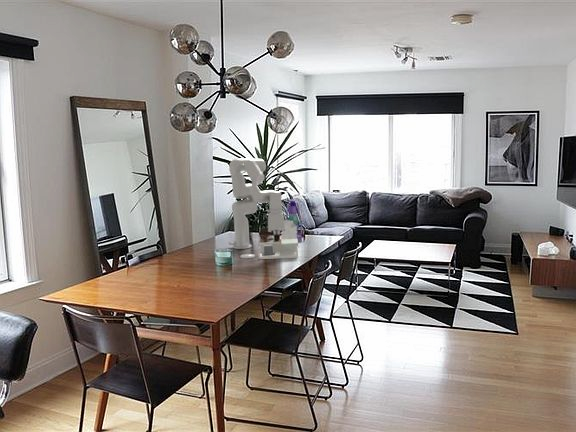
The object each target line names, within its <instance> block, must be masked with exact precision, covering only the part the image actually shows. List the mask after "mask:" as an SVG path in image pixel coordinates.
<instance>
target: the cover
mask: <svg viewBox="0 0 576 432" xmlns="http://www.w3.org/2000/svg"><path fill="white" fill-rule="evenodd" d="M279 242H280V246H294V245H297V246H299V242H298V239H282V235H279Z"/></svg>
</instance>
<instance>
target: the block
mask: <svg viewBox="0 0 576 432" xmlns="http://www.w3.org/2000/svg"><path fill="white" fill-rule="evenodd" d="M269 255H274V254H273V245H272V244H269V245H264V255H263V256H269Z"/></svg>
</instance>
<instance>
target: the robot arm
mask: <svg viewBox="0 0 576 432" xmlns="http://www.w3.org/2000/svg"><path fill="white" fill-rule="evenodd" d="M228 167H229V169H228V170H229V173H230V177H231V184H232V186H231V187H232V195H233V197H234V198H235V199H239V200H237V201H234V202H233V203H232V205H231V210H232V211H231V212H232V215H233V225H234V241H228V245H229V246H232V248H233V249H237V250H244V249H251V248H252V246H253V245H252V244H250V229H249V220H248V217H247V216H246V215H250V214H251V215H252V214H255V213H256V212H257V211H258V204H266V203H269V209H267V210H266V211H267V213H268V215H267V232H269V233H271V234H273V235H274V241H275V242H279V241H280V234H282V232H283V231H285V222H284V220H285V215H284V212H283V208H282V207H283V205H282V204H283V203H282V192H281V191H280V190H279V191H278V190H273V189H269V190H260V189H259V185H261V184H262V183H263V181H264V180H265V178H266V177H265V174H264V173H263V172H265V171H266V169H267V165H266V161H265V160H264V159H262V158H255V157H245V158H244V157H243V158H242V157H241V158H234V159H232V160H231V161H230V163H229V166H228ZM242 172H246V174H247V175H248V177H249V179H250V181H251V183H246V179H245V176H244V175H243V174H244V173H242ZM240 199H241V200H240ZM245 199H246V200H245ZM276 231H277V233H276Z"/></svg>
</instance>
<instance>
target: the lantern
mask: <svg viewBox="0 0 576 432" xmlns="http://www.w3.org/2000/svg"><path fill="white" fill-rule="evenodd" d="M288 201H289V203H287V205H286V214H285V220H287V221H293V223H294V224H295V225H296V227H297V239H298V243H300V242H302V240H303V235H302V234H303V224H302V216H301V213H300V206H299V203H298V202H297V199H294V198H291V199H289V200H288ZM297 214H298V215H297ZM299 227H300V233H299V232H298V231H299Z"/></svg>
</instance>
